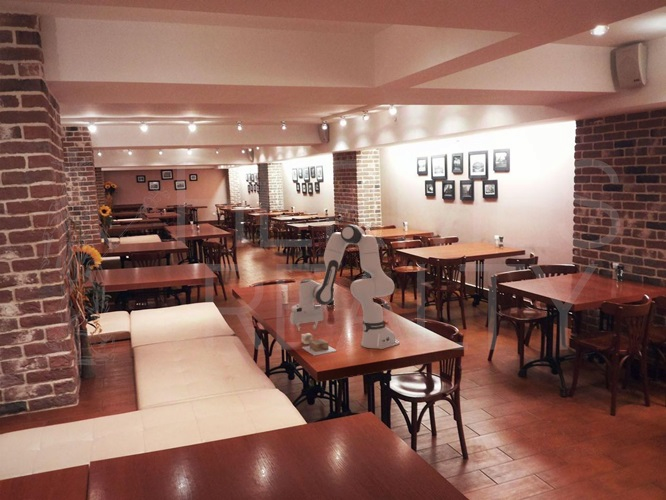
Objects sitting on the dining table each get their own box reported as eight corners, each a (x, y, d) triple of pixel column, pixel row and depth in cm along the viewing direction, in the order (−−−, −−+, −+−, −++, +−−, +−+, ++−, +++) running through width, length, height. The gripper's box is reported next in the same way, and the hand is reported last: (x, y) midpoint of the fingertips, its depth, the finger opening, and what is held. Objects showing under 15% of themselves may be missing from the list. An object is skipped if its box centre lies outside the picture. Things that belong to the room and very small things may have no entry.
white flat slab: (323, 344, 308) (323, 343, 308) (336, 351, 294) (336, 350, 294) (301, 348, 302) (301, 347, 302) (313, 355, 288) (313, 354, 288)
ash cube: (309, 341, 316) (309, 332, 315) (312, 343, 311) (312, 334, 311) (301, 342, 313) (301, 334, 313) (305, 344, 309) (304, 336, 308)
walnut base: (322, 345, 303) (322, 338, 303) (328, 349, 296) (328, 342, 296) (309, 347, 300) (309, 341, 299) (315, 351, 293) (315, 344, 292)
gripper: (321, 303, 319) (321, 325, 321) (288, 307, 311) (289, 330, 313) (325, 305, 313) (325, 328, 315) (292, 309, 305) (293, 333, 307)
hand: (307, 329), depth 314 cm, fingers open, 8 cm apart
